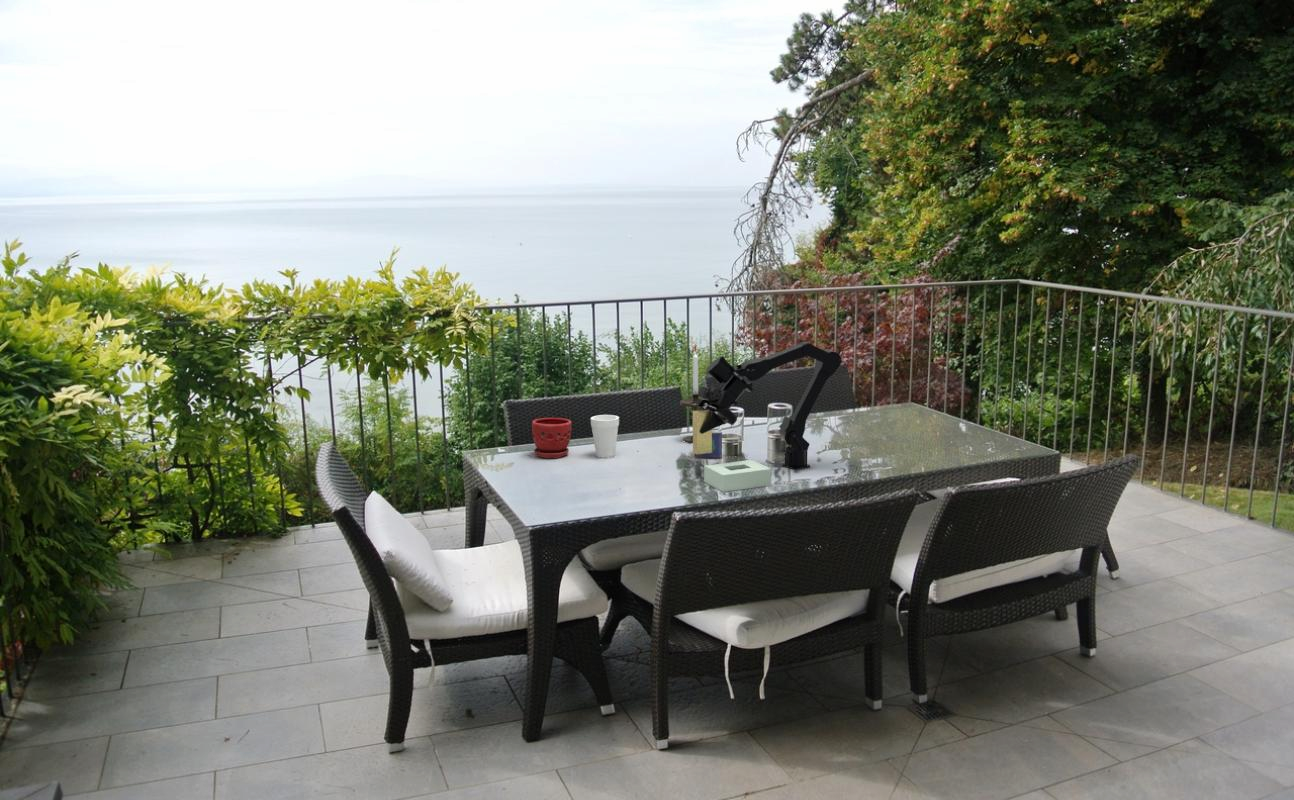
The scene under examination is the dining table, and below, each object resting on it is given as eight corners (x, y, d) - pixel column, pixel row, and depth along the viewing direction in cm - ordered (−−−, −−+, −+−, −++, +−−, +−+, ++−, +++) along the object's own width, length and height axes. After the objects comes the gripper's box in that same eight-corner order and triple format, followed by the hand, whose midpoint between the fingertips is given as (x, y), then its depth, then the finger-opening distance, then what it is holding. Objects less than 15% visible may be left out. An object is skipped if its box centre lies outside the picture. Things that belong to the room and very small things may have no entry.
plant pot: (562, 461, 312) (561, 425, 310) (526, 458, 317) (525, 423, 314) (578, 452, 324) (577, 417, 322) (543, 449, 329) (542, 415, 326)
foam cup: (588, 458, 315) (587, 420, 313) (596, 451, 324) (595, 414, 322) (615, 459, 313) (614, 421, 311) (622, 453, 322) (622, 415, 320)
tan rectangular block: (707, 450, 296) (707, 409, 293) (711, 452, 293) (711, 411, 291) (692, 452, 294) (692, 411, 291) (697, 454, 291) (696, 413, 289)
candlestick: (709, 444, 332) (709, 345, 326) (678, 443, 334) (678, 345, 327) (712, 437, 343) (712, 341, 336) (682, 437, 344) (681, 341, 338)
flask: (722, 457, 315) (722, 425, 313) (721, 459, 312) (721, 427, 310) (695, 456, 317) (694, 424, 315) (693, 458, 314) (693, 426, 312)
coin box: (750, 475, 292) (751, 459, 291) (770, 485, 281) (771, 468, 280) (704, 481, 286) (704, 465, 285) (722, 491, 275) (722, 475, 274)
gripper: (700, 372, 299) (668, 410, 297) (728, 381, 282) (694, 421, 280) (722, 394, 304) (691, 432, 301) (751, 404, 287) (718, 444, 285)
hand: (698, 431), depth 292 cm, fingers closed on tan rectangular block, 3 cm apart
